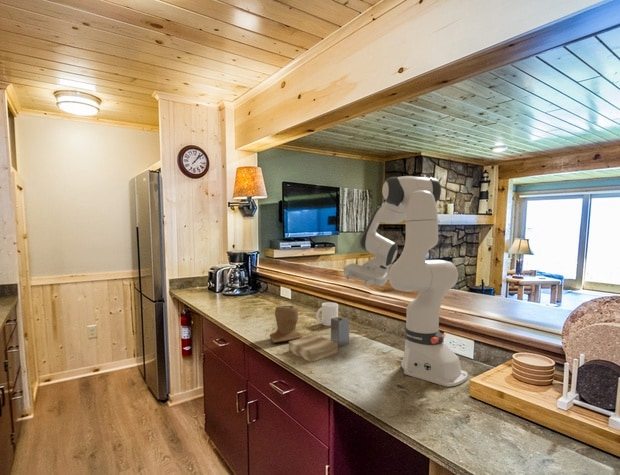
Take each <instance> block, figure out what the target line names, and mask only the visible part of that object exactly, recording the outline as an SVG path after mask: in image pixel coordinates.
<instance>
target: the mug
mask: <svg viewBox="0 0 620 475" xmlns="http://www.w3.org/2000/svg"><path fill="white" fill-rule="evenodd" d="M320 313H321V319H320ZM338 316H339V304H338V303H337V302H332V301H331V302H322V303H321V307H320V308H318V310H317V311H316V314H315V318H316V320H317V321H318V323H321V324H322V325H323V326H325V327H331V318H335V317H338Z"/></svg>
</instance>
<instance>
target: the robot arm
mask: <svg viewBox="0 0 620 475" xmlns="http://www.w3.org/2000/svg"><path fill="white" fill-rule="evenodd" d="M381 191H382V193H381V194H382V198H383V200H384V203H383V205H379V206H378V207H377V208H376V209H375V210H374V212H373V214H372V216H371V217H370V219H369V221H368V223H367V226H366V228H365V231H364V232H363V234H362V235H361V237H360V239H359V245H360V247H361V249H362V250H364V251H367V252H368V253H370V254H373V255H374V256H373V257H372V258H370V259H369V260H367V261H365V262H364V263H363V264H362V265H361V264H358V263H354V262H353V263H349V264H347V265H345V266H344V267H343V275H345V279H347V280H351V278H355V279H357V280H360V281H364V284H363V285H364V286H367V287H368V286H370V285H375V286H378V287H383V286H385V285H386V284H387V282H389V284H390V286H391V287H392V288H393V289H394V290H395V291H400V292H407V293H410V292H411V293H412V292H419V293H418V294H417V296H416V298H414V300H412V301H410V302H409V303H408V305H407V306H406V320H405V322H406V326H405V328H404V339H405V344H404V352H403V357H402V361H401V363H400V366H401V368H402V369H403V373H404V375H408V376H410V377H412V378H413V377H414V378H416V379H420V380H423V381H426V382H430V383H434V384H437V385H440V386H443V387H454V386H458V385H461V384H463V383H464V382H466V381H467V380H468V379H469V374H468V372H467V371H466V370H463V369H462V366H461V362H460V358H459V356H458V355H457V354H456V353H455V352H453V350H451V348H449V347H448V345H447V344H446V343H445V342H444V340H443V339H444V338H445V337H446V333H444V334H442V333H441V331H440V329H439V324H440V311H441V307H442V304H443V301H444V299H445V297H446V295H447V294H448V292H449V291H450V290H451V289H452V288H454V286H455V285H456V284H457V282H458V279H459V271H458V268H457V267H456V265H455V264H454V263H453V262H452V261H448V260H444V259H426V256H427V254H428V252H429V251H430V250H431V249H432V248H434V247H436V246H437V244H438V242H439V218H438V209H437V208H438V207H437V202H438V201H439V200H440V197H441V194H442V185H441V183H440V182H439V180H438V179H437V178H434V177H431V176H430V177H429V176H426V177H423V176H413V175H404V176H390V177H388V178H386V179H385V180H384V181H383V185H382V190H381ZM404 221H405V239H404V240H405V242H404V247H403V250H402V252H401V254H400V256H399V257H398V259H397V256H398V255H399V247H398V245H397V243H396V242H394V241H392V240H390V239H389V238H386V237H385V236H383V235H381V234H379V233H378V232H377V230H378V227H379V226H380V223H384V224H385V223H386V224H393V225H394V224H399V223H402V222H404ZM396 259H397V260H396ZM395 260H396V261H395Z"/></svg>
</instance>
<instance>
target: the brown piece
mask: <svg viewBox="0 0 620 475" xmlns="http://www.w3.org/2000/svg"><path fill="white" fill-rule="evenodd" d="M274 316H275V317H274V318H275V322H276V328H277V329H276V330H275V332H272V333H270V334H269V338H270V341H271V343H273V344H274V343H280V342H287V341H288V342H289V341H293V340H296V339H300V338H303V334H302V333H300V332H298V331H297V329H296V326H297V323H298V320H299V319H298V318H299V310H298V307H297V306H296V305H278V306H276V307H275V311H274Z"/></svg>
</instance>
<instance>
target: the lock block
mask: <svg viewBox="0 0 620 475" xmlns="http://www.w3.org/2000/svg"><path fill="white" fill-rule="evenodd" d="M330 340H331V341H333V342H336V343H338V348H341V347H344V346H346V345H347V346H348V345H349V344H350V318H348V317H345V316H342V315H340V314H338V317H335V318H331V326H330Z"/></svg>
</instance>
